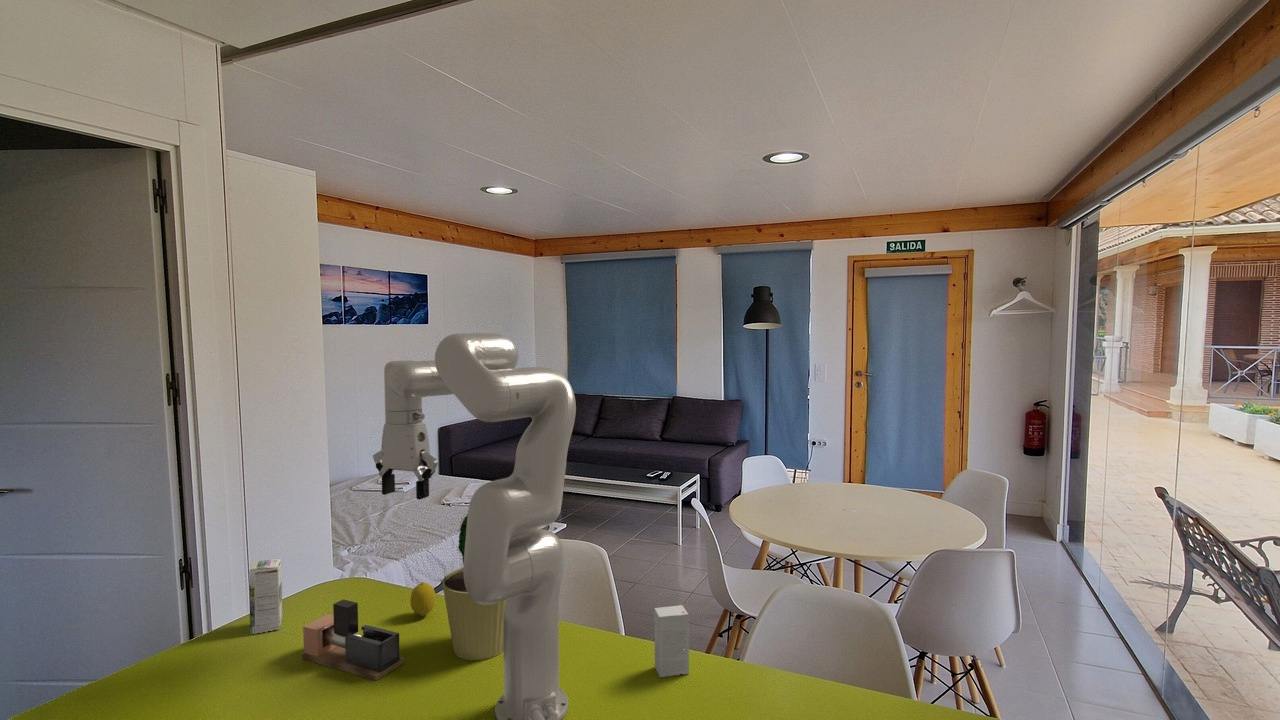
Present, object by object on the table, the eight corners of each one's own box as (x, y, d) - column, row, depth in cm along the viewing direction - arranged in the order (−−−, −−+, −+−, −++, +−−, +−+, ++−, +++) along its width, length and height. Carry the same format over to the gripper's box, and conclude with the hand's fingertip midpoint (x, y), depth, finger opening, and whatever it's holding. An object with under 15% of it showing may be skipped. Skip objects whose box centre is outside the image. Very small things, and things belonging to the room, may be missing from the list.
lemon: (428, 622, 142) (427, 588, 141) (405, 620, 143) (405, 586, 142) (440, 611, 147) (439, 578, 147) (419, 609, 148) (418, 576, 148)
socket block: (342, 642, 131) (342, 617, 130) (318, 656, 125) (317, 630, 125) (329, 639, 132) (328, 613, 132) (303, 652, 127) (303, 626, 126)
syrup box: (253, 624, 141) (251, 561, 140) (283, 619, 143) (281, 557, 143) (249, 635, 136) (247, 570, 135) (281, 630, 138) (279, 566, 138)
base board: (403, 662, 125) (403, 657, 125) (376, 680, 118) (376, 675, 118) (331, 642, 133) (331, 638, 133) (301, 658, 126) (301, 653, 126)
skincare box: (683, 663, 125) (683, 604, 124) (689, 674, 121) (689, 614, 120) (653, 666, 123) (653, 607, 123) (658, 678, 119) (658, 617, 119)
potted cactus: (475, 674, 120) (473, 521, 119) (427, 650, 130) (425, 507, 128) (534, 642, 133) (532, 503, 131) (487, 622, 142) (485, 491, 140)
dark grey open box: (399, 660, 124) (399, 633, 124) (380, 673, 119) (379, 644, 119) (365, 650, 127) (365, 624, 127) (345, 663, 123) (344, 635, 123)
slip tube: (366, 647, 126) (365, 603, 126) (354, 654, 123) (352, 609, 123) (326, 636, 130) (325, 594, 130) (313, 643, 128) (312, 600, 127)
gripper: (447, 417, 135) (448, 495, 136) (386, 413, 142) (388, 487, 143) (422, 422, 129) (424, 504, 129) (360, 417, 135) (362, 495, 136)
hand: (405, 495), depth 136 cm, fingers open, 9 cm apart
